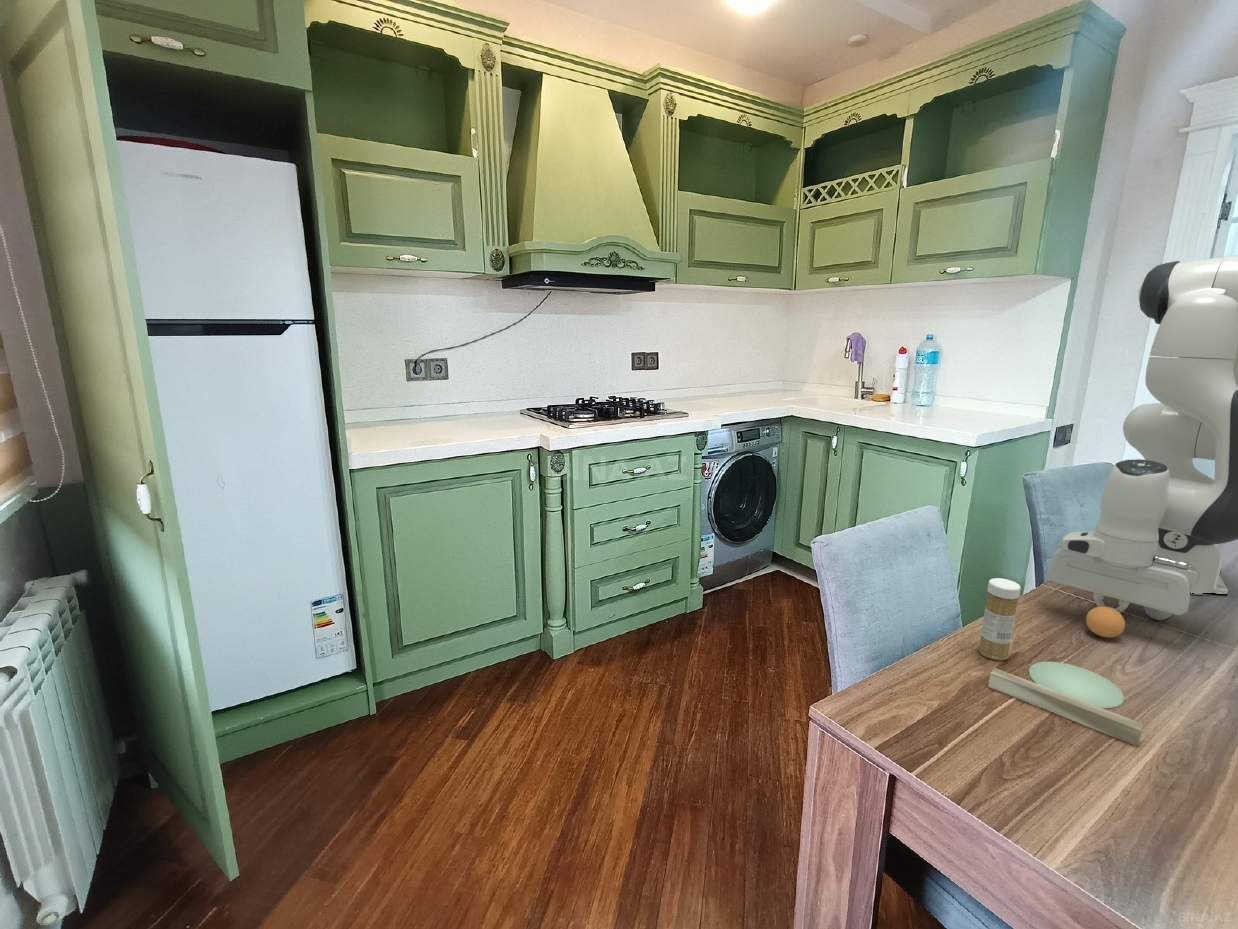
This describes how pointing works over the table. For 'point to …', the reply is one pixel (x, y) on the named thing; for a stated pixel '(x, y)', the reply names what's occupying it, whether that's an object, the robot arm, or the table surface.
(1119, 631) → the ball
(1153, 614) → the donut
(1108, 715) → the rail
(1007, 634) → the sprinkles bottle
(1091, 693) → the disc
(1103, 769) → the table surface
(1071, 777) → the table surface
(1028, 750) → the table surface
